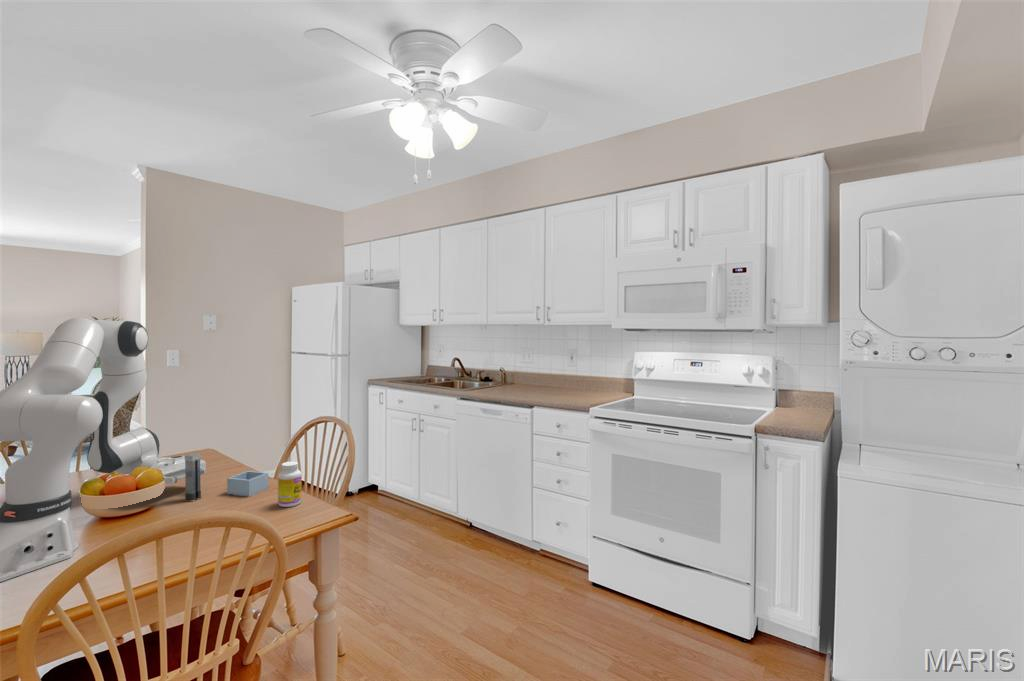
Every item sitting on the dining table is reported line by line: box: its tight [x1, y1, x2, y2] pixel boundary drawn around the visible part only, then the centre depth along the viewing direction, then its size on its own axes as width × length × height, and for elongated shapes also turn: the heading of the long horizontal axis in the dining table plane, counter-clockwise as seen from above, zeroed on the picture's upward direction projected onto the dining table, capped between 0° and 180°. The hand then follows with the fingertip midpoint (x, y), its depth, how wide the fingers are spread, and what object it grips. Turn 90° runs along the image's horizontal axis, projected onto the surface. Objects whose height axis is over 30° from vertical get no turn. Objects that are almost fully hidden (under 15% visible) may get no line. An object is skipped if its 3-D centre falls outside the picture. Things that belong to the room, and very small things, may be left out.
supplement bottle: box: [277, 461, 302, 508], centre depth 152 cm, size 7×7×13 cm
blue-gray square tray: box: [226, 470, 269, 498], centre depth 163 cm, size 9×9×5 cm
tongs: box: [184, 452, 202, 501], centre depth 154 cm, size 3×3×14 cm
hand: (189, 476), depth 155 cm, fingers open, 8 cm apart
